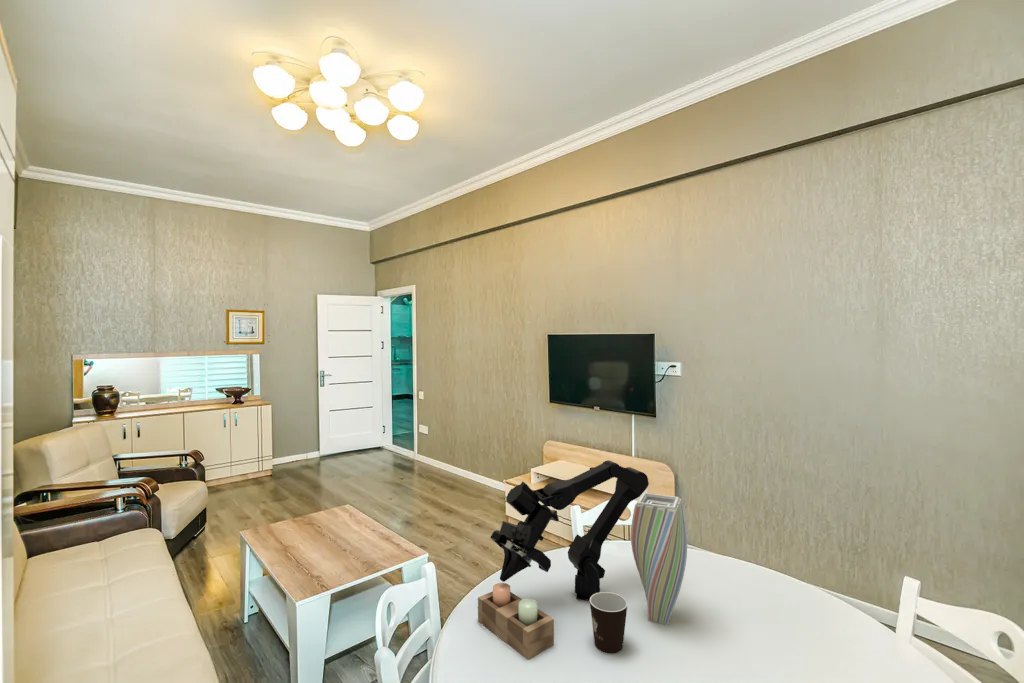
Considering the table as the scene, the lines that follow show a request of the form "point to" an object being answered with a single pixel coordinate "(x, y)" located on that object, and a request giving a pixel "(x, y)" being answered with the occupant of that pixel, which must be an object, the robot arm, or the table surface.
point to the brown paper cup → (608, 621)
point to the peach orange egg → (501, 594)
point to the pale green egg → (527, 611)
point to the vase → (659, 551)
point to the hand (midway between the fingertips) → (501, 580)
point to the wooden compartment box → (516, 626)
